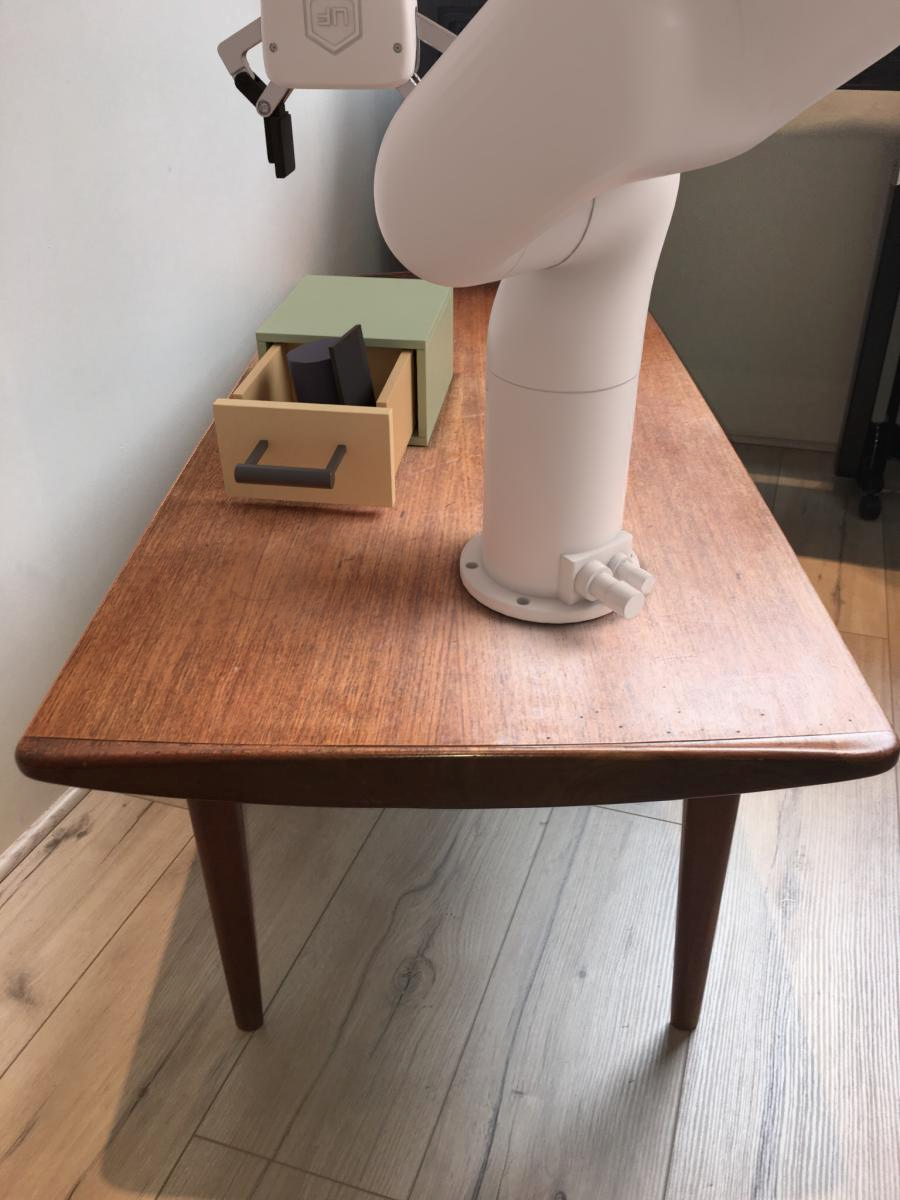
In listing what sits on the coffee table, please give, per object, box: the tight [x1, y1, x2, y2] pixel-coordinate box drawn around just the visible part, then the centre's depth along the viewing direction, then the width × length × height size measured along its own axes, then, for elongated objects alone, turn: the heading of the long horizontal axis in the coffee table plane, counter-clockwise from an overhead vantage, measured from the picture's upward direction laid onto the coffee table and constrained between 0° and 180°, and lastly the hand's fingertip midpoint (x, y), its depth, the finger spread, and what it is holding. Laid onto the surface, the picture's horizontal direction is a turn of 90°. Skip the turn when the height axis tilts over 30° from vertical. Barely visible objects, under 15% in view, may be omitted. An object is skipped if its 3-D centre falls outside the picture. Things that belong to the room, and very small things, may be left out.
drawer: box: [212, 342, 417, 509], centre depth 79 cm, size 21×13×8 cm, turn 172°
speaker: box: [286, 324, 376, 407], centre depth 80 cm, size 8×6×10 cm
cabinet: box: [255, 274, 454, 447], centre depth 92 cm, size 17×15×10 cm
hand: (351, 175), depth 72 cm, fingers open, 9 cm apart
